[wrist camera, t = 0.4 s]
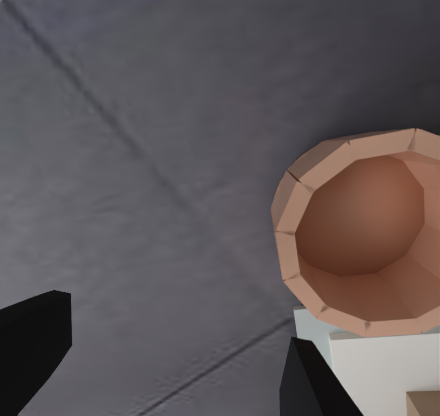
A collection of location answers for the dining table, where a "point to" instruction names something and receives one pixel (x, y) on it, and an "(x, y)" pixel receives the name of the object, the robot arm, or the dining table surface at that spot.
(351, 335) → the cover sheet
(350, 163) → the bowl
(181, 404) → the dining table surface
